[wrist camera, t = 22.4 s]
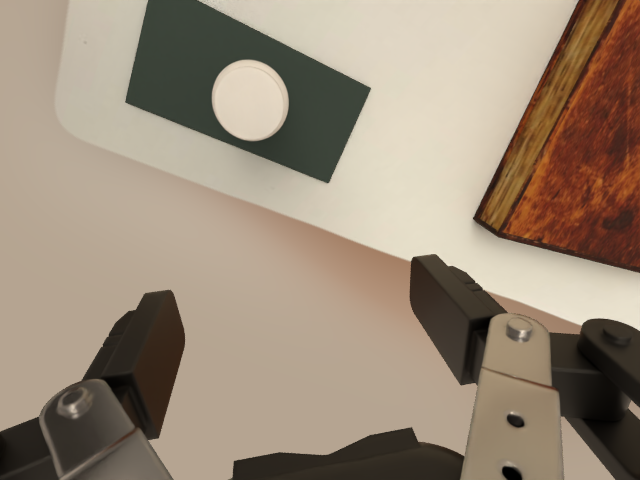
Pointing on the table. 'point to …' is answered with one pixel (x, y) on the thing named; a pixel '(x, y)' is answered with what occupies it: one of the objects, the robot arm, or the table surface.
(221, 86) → the pill bottle
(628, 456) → the robot arm
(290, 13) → the table surface
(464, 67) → the table surface
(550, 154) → the book
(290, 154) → the mat
